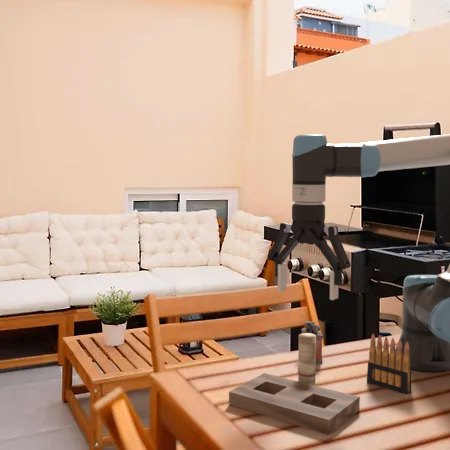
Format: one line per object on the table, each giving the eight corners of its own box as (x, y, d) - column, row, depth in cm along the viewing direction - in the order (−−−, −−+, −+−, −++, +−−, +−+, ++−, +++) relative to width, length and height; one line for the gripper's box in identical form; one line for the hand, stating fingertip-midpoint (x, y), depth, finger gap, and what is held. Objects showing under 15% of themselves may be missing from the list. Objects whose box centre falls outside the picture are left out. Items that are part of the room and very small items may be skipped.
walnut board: (264, 385, 142) (264, 373, 142) (359, 410, 128) (359, 396, 127) (229, 404, 131) (228, 391, 130) (328, 434, 116) (329, 420, 116)
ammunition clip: (366, 382, 143) (367, 333, 142) (370, 380, 145) (371, 331, 143) (407, 395, 136) (408, 343, 134) (411, 392, 137) (413, 341, 136)
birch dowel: (303, 380, 145) (303, 331, 143) (318, 384, 142) (319, 335, 141) (294, 385, 141) (294, 336, 140) (310, 390, 139) (310, 339, 138)
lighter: (298, 355, 163) (298, 319, 162) (309, 353, 164) (309, 318, 163) (314, 364, 156) (314, 327, 155) (325, 363, 157) (325, 325, 156)
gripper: (253, 201, 141) (253, 290, 144) (352, 206, 127) (350, 305, 129) (271, 200, 147) (270, 285, 150) (367, 204, 133) (364, 299, 135)
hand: (307, 294), depth 139 cm, fingers open, 13 cm apart
